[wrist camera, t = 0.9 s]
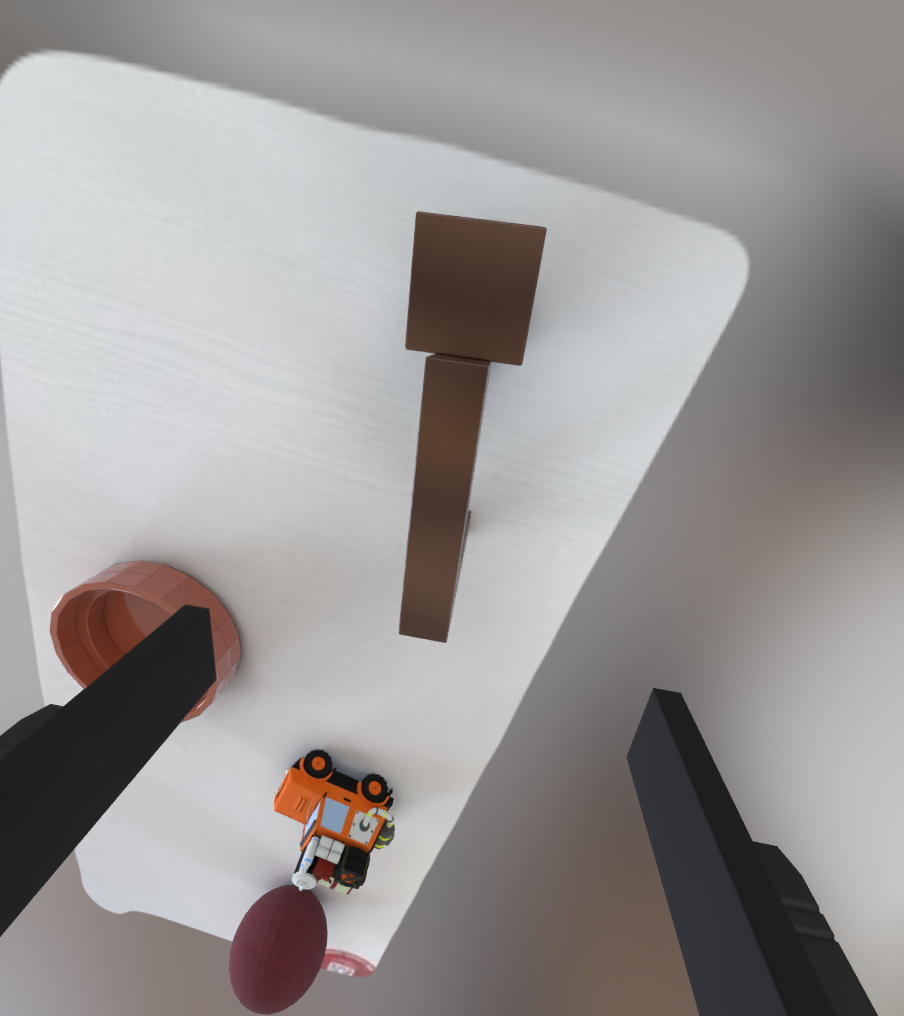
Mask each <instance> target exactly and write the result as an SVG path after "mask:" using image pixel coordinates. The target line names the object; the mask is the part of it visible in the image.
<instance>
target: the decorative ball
mask: <svg viewBox="0 0 904 1016" xmlns="http://www.w3.org/2000/svg"><path fill="white" fill-rule="evenodd" d="M326 946H327V922H326V917H325V913H324V910H323V908H322V905H321V904H320V902H319V900H318V899H317V897H316V896H315V895H314V894H312V893H311V892H310V891H309V890H307V889H302V891H300V890H299V887H297V886H296V885H286V886H281V887H278V888H275V889H273V890H271V891H269V892H268V893H266V894H265V895H263V896H262V897H261V898H260V899H259V900H257V901H256V902H255V903H254V904H253V905H252V906H251V908H250V909H249V910H248V912H247V913H246V914H245V916H244V918H243V919H242V921H241V923H240V925H239V927H238V929H237V931H236V934H235V937H234V939H233V943H232V947H231V952H230V961H229V972H230V980H231V985H232V987H233V990H234V993H235V995H236V996H237V998H238V1000H239V1001H240V1002H241V1004H242V1005H243V1006H244V1007H246V1008H247V1009H249V1010H251V1011H253V1012H255V1013H259V1014H273V1013H277V1012H280V1011H283V1010H284V1009H286V1008H288V1007H289V1006H291V1005H293V1004H294V1003H295V1002H296V1001H298V1000H299V999H300V998H301V997H302V996H303V995H304V993H305V992H306V991H307V990H308V988H309V987H310V986H311V984H312V983H313V981H314V979H315V977H316V976H317V974H318V972H319V970H320V967H321V964H322V962H323V959H324V955H325V950H326Z"/></svg>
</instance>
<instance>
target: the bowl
mask: <svg viewBox="0 0 904 1016" xmlns="http://www.w3.org/2000/svg"><path fill="white" fill-rule="evenodd" d="M185 604H187V605H193V606H198V607H204V608H209V609H210V619H211V629H212V638H213V648H214V658H215V668H216V677H217V680H216V681H215V682H214V683H213V684H212V686H211V687H210V688H209V689H208V690H207V692H206V693H205V694H204V695H203V696H202V698H201V699H200V700H199V701H198V702H197V703H196V705H195V706H194V707H193V708H192V709H191V711H190V712H189V713H188V714H187V715H186V717H185V718H184V719H183V720H182V721H181V722H184V721H186V720H189V719H192V718H194V717H197V716H199V715H200V714H201V713H202V712H203V711H204V710H205V709H206V708H207V707H208V706H209V705H210V704H211V703H212V702H213V701H214V700H215V698H216V697H217V696H218V695H219V693H220V692H221V691H222V690H223V688H224V687H225V686H226V684H227V683H228V682H229V681H230V679H231V678H232V677H233V676H234V674H235V672H236V669H237V666H238V663H239V661H240V658H241V654H240V640H239V635H238V632H237V630H236V628H235V625H234V623H233V621H232V618H231V616H230V614H229V613H228V611H227V610H226V609H225V608H224V606H223V605H222V604H221V603H220V601H219V600H218V599H217V598H216V596H215V595H214V594H213V593H211V592H210V591H209V590H207V589H206V588H205V587H204V586H202V585H201V584H200V583H198V582H197V581H196V580H195V579H193V578H192V577H190V576H188V575H186V574H184V573H182V572H179V571H177V570H175V569H173V568H171V567H168V566H166V565H162V564H157V563H151V562H146V561H133V562H125V563H117V564H114V565H113V566H111V567H109V568H107V569H106V570H104V571H102V572H100V573H98V574H97V575H95V576H93V577H92V578H90V579H88V580H87V581H85V582H83V583H82V584H80V585H78V586H77V587H75V588H73V589H72V590H70V591H68V592H67V593H65V594H63V595H62V597H61V598H60V600H59V601H58V603H57V604H56V606H55V608H54V609H53V611H52V614H51V624H50V634H51V637H52V641H53V644H54V648H55V652H56V654H57V656H58V657H59V659H60V661H61V662H62V664H63V666H64V667H65V669H66V670H67V672H68V674H69V675H70V676H71V677H72V678H73V679H74V680H75V681H76V682H77V683H78V684H79V685H80V686H81V687H82V688H83V689H85V688H86V687H87V686H88V685H90V684H91V683H92V682H93V681H94V680H96V679H97V678H98V677H99V676H100V675H101V674H103V673H104V672H105V671H106V670H107V669H109V668H110V667H111V666H112V665H113V664H115V663H116V662H117V661H118V660H119V659H121V658H122V657H123V656H124V655H125V654H126V653H128V652H129V651H130V650H131V649H132V648H134V647H135V646H136V645H137V644H138V643H140V642H141V641H142V640H143V639H144V638H146V637H147V636H148V635H149V634H150V633H152V632H153V631H154V630H155V629H156V628H157V627H159V626H160V625H161V624H162V623H163V622H165V621H166V620H167V619H168V618H169V617H171V616H172V615H173V614H174V613H175V612H177V611H178V610H179V609H180V608H181V607H182V606H184V605H185Z"/></svg>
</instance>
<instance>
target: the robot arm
mask: <svg viewBox="0 0 904 1016" xmlns="http://www.w3.org/2000/svg"><path fill="white" fill-rule="evenodd" d="M216 680H217V677H216V668H215V658H214V648H213V638H212V629H211V619H210V609H209V608H204V607H198V606H193V605H187V604H185V605H184V606H182V607H181V608H180V609H179V610H178V611H177V612H175V613H174V614H173V615H172V616H171V617H169V618H168V619H167V620H166V621H165V622H163V623H162V624H161V625H160V626H159V627H157V628H156V629H155V630H154V631H153V632H152V633H150V634H149V635H148V636H147V637H146V638H144V639H143V640H142V641H141V642H140V643H138V644H137V645H136V646H135V647H134V648H132V649H131V650H130V651H129V652H128V653H126V654H125V655H124V656H123V657H122V658H121V659H119V660H118V661H117V662H116V663H115V664H113V665H112V666H111V667H110V668H109V669H107V670H106V671H105V672H104V673H103V674H101V675H100V676H99V677H98V678H97V679H96V680H94V681H93V682H92V683H91V684H90V685H88V686H87V687H86V688H85V689H84V690H82V691H81V692H80V693H79V694H78V695H76V696H75V697H74V698H73V699H72V700H70V701H69V702H68V703H67V704H66V705H65V706H58V705H53V704H50V705H48V706H46V707H44V708H42V709H40V710H38V711H36V712H35V713H33V714H31V715H29V716H27V717H25V718H23V719H21V720H20V721H19V722H17V723H16V724H15V725H13V726H12V727H11V728H10V729H8V730H7V731H6V732H5V733H3V734H2V735H1V736H0V937H1V935H2V934H3V933H4V932H5V931H6V929H7V928H8V927H9V926H10V925H11V924H12V922H13V921H14V920H15V919H16V918H17V916H18V915H19V914H20V913H21V912H22V910H23V909H24V908H25V907H26V906H27V905H28V903H29V902H30V901H31V900H32V899H33V897H34V896H35V895H36V894H37V892H38V891H39V890H40V889H41V888H42V886H43V885H44V884H45V883H46V882H47V881H48V880H49V878H50V877H51V876H52V875H53V874H54V872H55V871H56V870H57V869H58V868H59V866H60V865H61V864H62V863H63V862H64V860H65V859H66V858H67V857H68V856H69V855H70V853H71V852H72V851H73V850H74V849H75V847H76V846H77V845H78V844H79V843H80V841H81V840H82V839H83V838H84V837H85V836H86V834H87V833H88V832H89V831H90V830H91V828H92V827H93V826H94V825H95V824H96V822H97V821H98V820H99V819H100V818H101V817H102V815H103V814H104V813H105V812H106V811H107V809H108V808H109V807H110V806H111V805H112V803H113V802H114V801H115V800H116V799H117V797H118V796H119V795H120V794H121V793H122V792H123V790H124V789H125V788H126V787H127V786H128V784H129V783H130V782H131V781H132V780H133V778H134V777H135V776H136V775H137V774H138V772H139V771H140V770H141V769H142V768H143V767H144V765H145V764H146V763H147V762H148V761H149V759H150V758H151V757H152V756H153V755H154V753H155V752H156V751H157V750H158V749H159V748H160V746H161V745H162V744H163V743H164V742H165V740H166V739H167V738H168V737H169V736H170V734H171V733H172V732H173V731H174V730H175V728H176V727H177V726H178V725H179V724H180V723H181V721H182V720H183V719H184V718H185V717H186V715H187V714H188V713H189V712H190V711H191V709H192V708H193V707H194V706H195V705H196V703H197V702H198V701H199V700H200V699H201V698H202V696H203V695H204V694H205V693H206V692H207V690H208V689H209V688H210V687H211V686H212V684H213V683H214V682H215V681H216ZM627 760H628V764H629V767H630V771H631V774H632V778H633V782H634V785H635V788H636V792H637V796H638V799H639V803H640V806H641V810H642V813H643V817H644V820H645V824H646V828H647V831H648V835H649V838H650V842H651V845H652V849H653V852H654V856H655V859H656V863H657V867H658V870H659V873H660V877H661V881H662V884H663V888H664V891H665V895H666V898H667V902H668V905H669V909H670V913H671V916H672V920H673V923H674V927H675V930H676V934H677V937H678V941H679V944H680V948H681V952H682V955H683V959H684V962H685V966H686V969H687V973H688V976H689V980H690V983H691V987H692V991H693V994H694V998H695V1001H696V1005H697V1008H698V1012H699V1015H700V1016H878V1015H877V1013H876V1011H875V1009H874V1007H873V1006H872V1004H871V1002H870V1000H869V998H868V996H867V995H866V993H865V991H864V989H863V987H862V986H861V983H860V982H859V980H858V978H857V976H856V974H855V973H854V971H853V969H852V967H851V965H850V963H849V961H848V960H847V958H846V956H845V954H844V953H843V950H842V949H841V947H840V945H839V943H838V942H836V941H835V939H834V934H833V932H832V930H831V928H830V927H829V925H828V923H827V921H826V919H825V917H824V915H823V914H821V913H820V912H819V907H818V904H817V903H816V901H815V899H814V897H813V896H812V893H811V892H810V890H809V888H808V886H807V884H806V883H805V881H804V879H803V877H802V875H801V874H800V873H799V872H798V870H797V869H796V868H795V867H794V866H793V865H792V863H791V862H790V861H789V860H788V859H787V857H786V856H785V855H784V854H783V853H782V852H781V850H780V849H779V848H778V847H777V846H773V845H769V844H763V843H758V842H753V841H752V839H751V837H750V835H749V833H748V831H747V829H746V827H745V825H744V822H743V821H742V818H741V816H740V814H739V812H738V810H737V808H736V806H735V804H734V802H733V800H732V798H731V796H730V794H729V791H728V789H727V787H726V785H725V783H724V781H723V779H722V777H721V775H720V773H719V771H718V769H717V767H716V765H715V763H714V761H713V758H712V756H711V754H710V752H709V750H708V748H707V746H706V744H705V742H704V740H703V738H702V736H701V734H700V732H699V730H698V727H697V725H696V723H695V721H694V719H693V717H692V715H691V713H690V711H689V709H688V707H687V705H686V703H685V701H684V698H683V696H682V694H681V693H678V692H673V691H667V690H661V689H656V688H653V690H652V692H651V695H650V697H649V701H648V703H647V705H646V708H645V710H644V713H643V716H642V718H641V721H640V724H639V726H638V729H637V731H636V734H635V737H634V739H633V742H632V744H631V747H630V749H629V752H628V755H627Z"/></svg>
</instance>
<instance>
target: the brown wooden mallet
mask: <svg viewBox="0 0 904 1016" xmlns="http://www.w3.org/2000/svg"><path fill="white" fill-rule="evenodd" d="M546 231H547V230H546V228H545V227H540V226H532V225H524V224H516V223H507V222H499V221H491V220H483V219H475V218H467V217H459V216H451V215H443V214H435V213H427V212H419V211H418V212H417V213H416V220H415V232H414V244H413V257H412V269H411V281H410V293H409V306H408V318H407V330H406V343H405V348H406V349H407V350H414V351H421V352H428V353H435V354H434V355H431V356H428V357H426V361H425V372H424V382H423V392H422V402H421V412H420V422H419V432H418V442H417V452H416V462H415V472H414V482H413V492H412V502H411V512H410V522H409V532H408V542H407V552H406V562H405V572H404V583H403V593H402V603H401V613H400V623H399V634H400V635H406V636H411V637H417V638H422V639H428V640H433V641H438V642H444V643H446V642H447V638H448V632H449V627H450V622H451V617H452V612H453V607H454V602H455V597H456V592H457V587H458V582H459V577H460V572H461V567H462V562H463V557H464V551H465V546H466V541H467V536H468V530H469V524H470V518H471V511H468V508H469V502H470V495H471V489H472V483H473V476H474V470H475V463H476V457H477V450H478V444H479V437H480V431H481V424H482V418H483V411H484V405H485V399H486V392H487V386H488V379H489V373H490V366H491V362H497V363H504V364H511V365H518V366H521V365H522V363H523V358H524V352H525V347H526V341H527V336H528V330H529V325H530V319H531V313H532V308H533V302H534V297H535V291H536V286H537V280H538V275H539V269H540V264H541V258H542V253H543V247H544V242H545V236H546Z"/></svg>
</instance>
